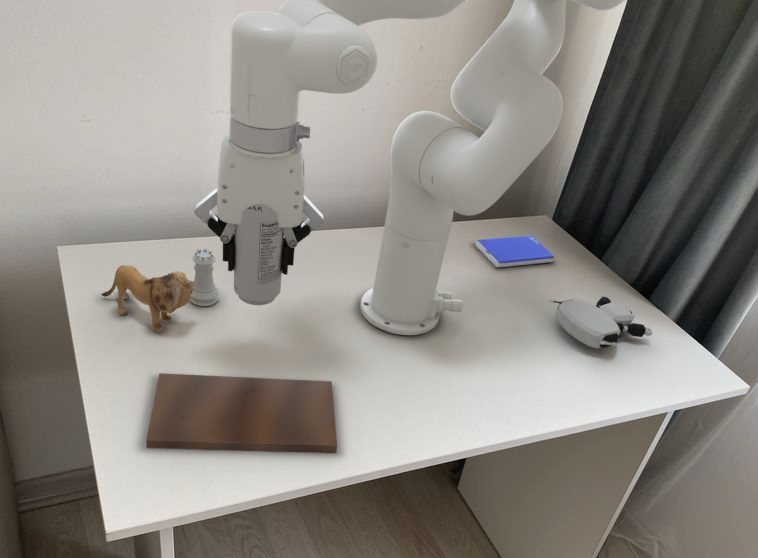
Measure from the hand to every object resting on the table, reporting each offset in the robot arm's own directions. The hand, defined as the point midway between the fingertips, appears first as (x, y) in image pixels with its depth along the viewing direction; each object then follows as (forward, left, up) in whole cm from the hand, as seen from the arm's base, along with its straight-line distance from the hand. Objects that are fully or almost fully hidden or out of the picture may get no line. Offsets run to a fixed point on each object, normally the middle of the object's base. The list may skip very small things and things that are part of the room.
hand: (258, 266), depth 94 cm
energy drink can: (0, 0, -5) cm, 5 cm away
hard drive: (-47, -34, -14) cm, 60 cm away
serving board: (+1, +13, -14) cm, 19 cm away
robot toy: (-55, -10, -14) cm, 58 cm away
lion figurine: (+15, -7, -14) cm, 21 cm away
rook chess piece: (+8, -12, -14) cm, 20 cm away
